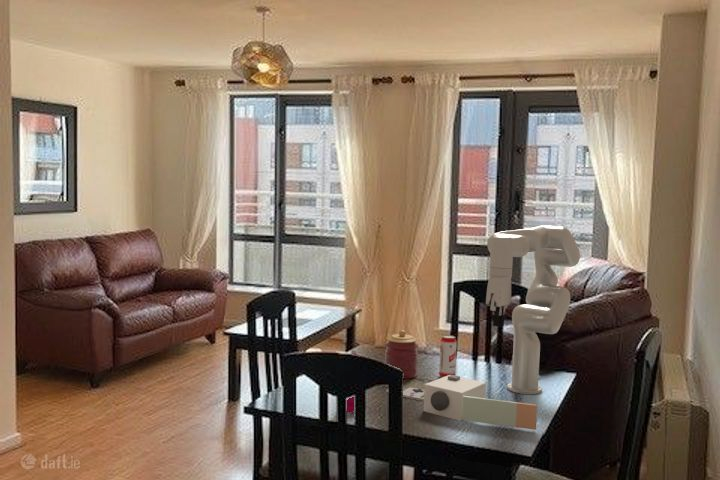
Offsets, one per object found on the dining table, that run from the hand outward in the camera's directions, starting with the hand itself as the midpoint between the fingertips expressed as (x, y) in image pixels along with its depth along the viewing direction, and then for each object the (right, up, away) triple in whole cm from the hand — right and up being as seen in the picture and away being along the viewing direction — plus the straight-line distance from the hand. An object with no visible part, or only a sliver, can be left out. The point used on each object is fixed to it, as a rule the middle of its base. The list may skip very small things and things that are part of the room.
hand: (498, 326), depth 237 cm
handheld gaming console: (-25, -26, +9) cm, 37 cm away
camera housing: (-16, -27, -6) cm, 32 cm away
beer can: (-13, -24, +35) cm, 45 cm away
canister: (-31, -24, +37) cm, 53 cm away
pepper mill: (-49, -27, -8) cm, 57 cm away
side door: (-4, -28, -21) cm, 35 cm away
